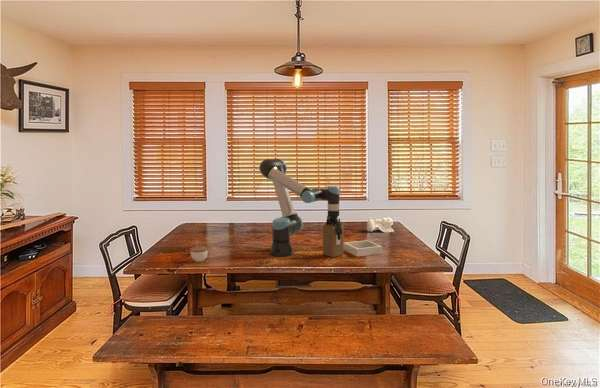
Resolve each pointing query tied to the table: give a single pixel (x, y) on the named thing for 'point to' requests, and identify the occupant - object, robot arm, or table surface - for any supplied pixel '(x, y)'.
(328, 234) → the wooden block
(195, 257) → the white round bowl
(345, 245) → the box
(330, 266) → the table surface
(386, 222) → the cherub figurine
